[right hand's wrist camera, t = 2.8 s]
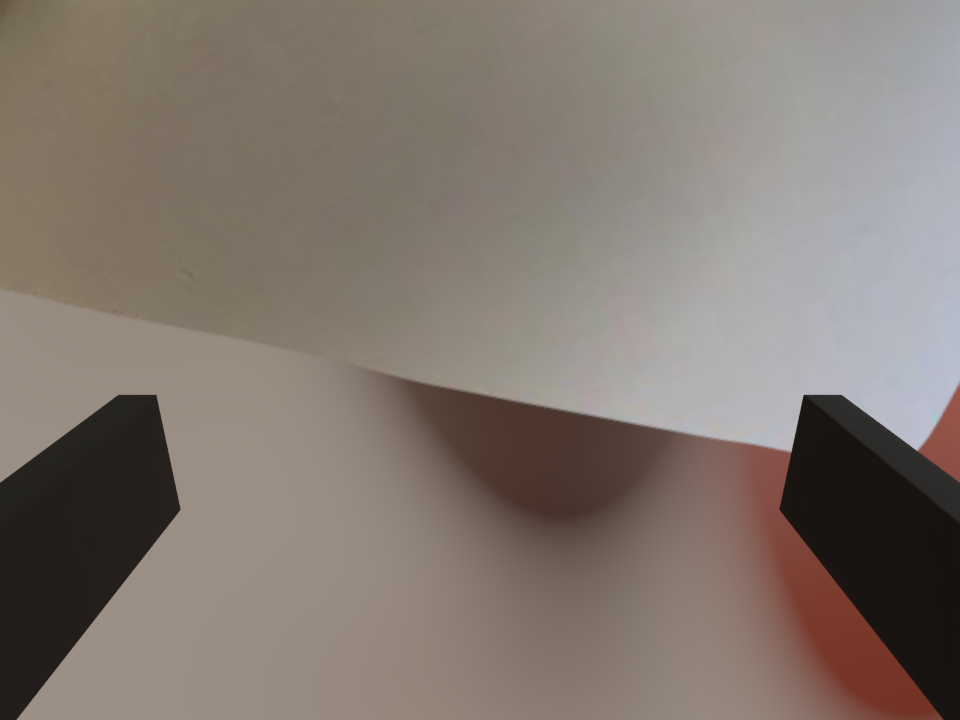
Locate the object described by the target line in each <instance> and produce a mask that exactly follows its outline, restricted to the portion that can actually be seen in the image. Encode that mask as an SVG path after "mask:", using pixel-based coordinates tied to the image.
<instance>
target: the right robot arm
mask: <svg viewBox="0 0 960 720" xmlns="http://www.w3.org/2000/svg"><path fill="white" fill-rule="evenodd" d="M179 511H180V505H179V500H178V495H177V491H176V486H175V481H174V476H173V472H172V467H171V462H170V457H169V453H168V448H167V443H166V439H165V434H164V429H163V424H162V420H161V415H160V410H159V405H158V401H157V396H156V395H118V396H116V397H115V398H114V399H112V400H111V401H110V402H108V403H107V404H106V405H104V406H103V407H102V408H100V409H99V410H98V411H96V412H95V413H94V414H92V415H91V416H89V417H88V418H87V419H86V420H84V421H83V422H81V423H80V424H79V425H77V426H76V427H75V428H73V429H72V430H71V431H69V432H68V433H67V434H65V435H64V436H63V437H61V438H60V439H59V440H57V441H56V442H55V443H53V444H52V445H50V446H49V447H48V448H46V449H45V450H44V451H42V452H41V453H40V454H38V455H37V456H36V457H34V458H33V459H32V460H30V461H29V462H28V463H26V464H25V465H24V466H22V467H21V468H19V469H18V470H17V471H15V472H14V473H13V474H11V475H10V476H9V477H7V478H6V479H5V480H3V481H2V482H1V483H0V720H16V719H17V718H18V717H19V716H20V714H21V713H22V712H23V711H24V709H25V708H26V707H27V705H28V704H29V703H30V702H31V700H32V699H33V698H34V696H35V695H36V694H37V693H38V691H39V690H40V689H41V688H42V686H43V685H44V684H45V682H46V681H47V680H48V679H49V677H50V676H51V675H52V674H53V672H54V671H55V670H56V668H57V667H58V666H59V665H60V663H61V662H62V661H63V659H64V658H65V657H66V656H67V654H68V653H69V652H70V650H71V649H72V648H73V647H74V645H75V644H76V643H77V642H78V640H79V639H80V638H81V636H82V635H83V634H84V633H85V631H86V630H87V629H88V627H89V626H90V625H91V624H92V622H93V621H94V620H95V618H96V617H97V616H98V615H99V613H100V612H101V611H102V610H103V608H104V607H105V606H106V604H107V603H108V602H109V600H110V599H111V598H112V597H113V595H114V594H115V593H116V592H117V590H118V589H119V588H120V587H121V585H122V584H123V583H124V581H125V580H126V579H127V578H128V576H129V575H130V574H131V572H132V571H133V570H134V569H135V567H136V566H137V565H138V563H139V562H140V561H141V560H142V558H143V557H144V556H145V555H146V553H147V552H148V551H149V549H150V548H151V547H152V546H153V544H154V543H155V542H156V540H157V539H158V538H159V537H160V535H161V534H162V533H163V531H164V530H165V529H166V528H167V526H168V525H169V524H170V523H171V521H172V520H173V519H174V517H175V516H176V515H177V514H178V512H179ZM780 511H781V512H782V514H783V515H784V516H785V517H786V519H787V520H788V521H789V523H790V524H791V525H792V526H793V528H794V529H795V530H796V532H797V533H798V534H799V535H800V537H801V538H802V539H803V540H804V542H805V543H806V544H807V546H808V547H809V548H810V549H811V551H812V552H813V553H814V555H815V556H816V557H817V558H818V560H819V561H820V562H821V563H822V565H823V566H824V567H825V569H826V570H827V571H828V572H829V574H830V575H831V576H832V578H833V579H834V580H835V581H836V583H837V584H838V585H839V587H840V588H841V589H842V590H843V592H844V593H845V594H846V595H847V597H848V598H849V599H850V601H851V602H852V603H853V604H854V606H855V607H856V608H857V610H858V611H859V612H860V613H861V615H862V616H863V617H864V619H865V620H866V621H867V622H868V624H869V625H870V626H871V627H872V629H873V630H874V631H875V633H876V634H877V635H878V636H879V638H880V639H881V640H882V642H883V643H884V644H885V645H886V647H887V648H888V649H889V650H890V652H891V653H892V654H893V656H894V657H895V658H896V659H897V661H898V662H899V663H900V664H901V666H902V667H903V668H904V670H905V671H906V672H907V674H908V675H909V676H910V677H911V679H912V680H913V681H914V682H915V684H916V685H917V686H918V688H919V689H920V690H921V691H922V693H923V694H924V695H925V697H926V698H927V699H928V700H929V702H930V703H931V704H932V705H933V707H934V708H935V709H936V711H937V712H938V713H939V714H940V716H941V717H942V718H943V720H960V483H959V482H958V481H957V480H955V479H954V478H953V477H951V476H950V475H949V474H947V473H946V472H945V471H943V470H942V469H941V468H939V467H938V466H937V465H935V464H934V463H932V462H931V461H930V460H928V459H927V458H926V457H924V456H923V455H922V454H920V453H919V452H918V451H916V450H915V449H914V448H912V447H911V446H910V445H908V444H907V443H906V442H904V441H903V440H901V439H900V438H899V437H897V436H896V435H895V434H893V433H892V432H891V431H889V430H888V429H887V428H885V427H884V426H883V425H881V424H880V423H879V422H877V421H876V420H875V419H873V418H872V417H871V416H869V415H868V414H866V413H865V412H864V411H862V410H861V409H860V408H858V407H857V406H856V405H854V404H853V403H852V402H850V401H849V400H848V399H846V398H845V397H844V396H842V395H804V396H803V401H802V405H801V410H800V415H799V420H798V424H797V429H796V434H795V439H794V443H793V448H792V453H791V458H790V462H789V467H788V472H787V476H786V481H785V486H784V491H783V495H782V500H781V505H780Z"/></svg>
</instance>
